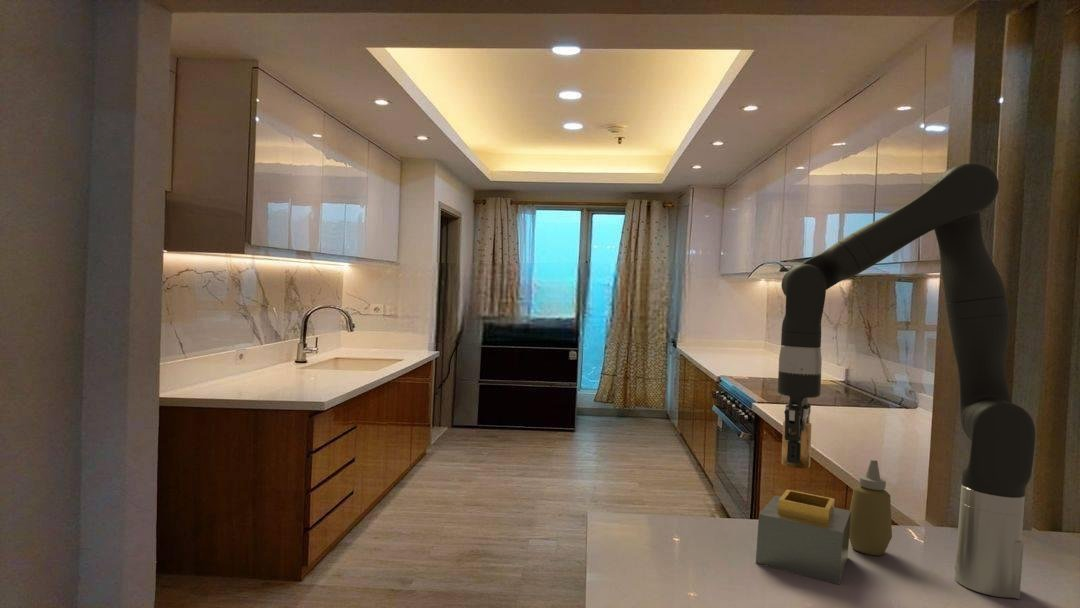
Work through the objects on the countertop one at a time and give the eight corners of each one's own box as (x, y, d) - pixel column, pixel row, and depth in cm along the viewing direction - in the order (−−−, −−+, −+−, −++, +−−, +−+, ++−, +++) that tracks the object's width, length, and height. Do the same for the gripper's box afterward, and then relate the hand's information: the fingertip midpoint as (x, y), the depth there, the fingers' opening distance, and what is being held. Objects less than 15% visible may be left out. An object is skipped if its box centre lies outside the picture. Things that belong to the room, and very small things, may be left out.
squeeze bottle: (880, 544, 132) (886, 457, 131) (898, 560, 123) (904, 467, 123) (839, 540, 132) (845, 453, 132) (854, 556, 124) (860, 463, 124)
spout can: (811, 464, 123) (813, 412, 123) (807, 469, 118) (809, 415, 118) (784, 460, 125) (786, 409, 125) (779, 465, 121) (781, 412, 121)
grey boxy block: (847, 557, 123) (851, 497, 123) (839, 584, 110) (843, 518, 110) (771, 539, 131) (775, 483, 130) (755, 562, 118) (759, 500, 118)
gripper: (815, 375, 114) (811, 471, 114) (826, 369, 126) (822, 456, 126) (771, 371, 117) (767, 464, 117) (785, 366, 130) (782, 450, 130)
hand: (796, 459), depth 122 cm, fingers closed on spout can, 5 cm apart
